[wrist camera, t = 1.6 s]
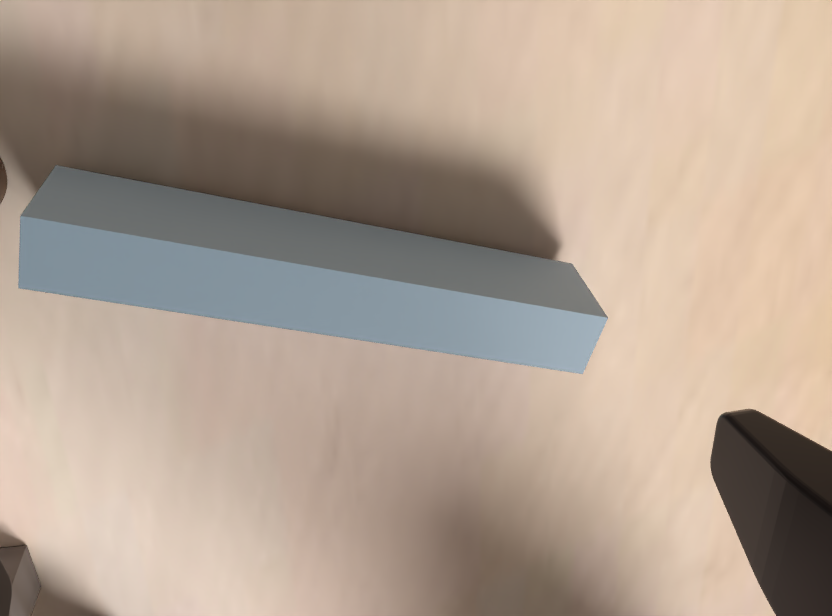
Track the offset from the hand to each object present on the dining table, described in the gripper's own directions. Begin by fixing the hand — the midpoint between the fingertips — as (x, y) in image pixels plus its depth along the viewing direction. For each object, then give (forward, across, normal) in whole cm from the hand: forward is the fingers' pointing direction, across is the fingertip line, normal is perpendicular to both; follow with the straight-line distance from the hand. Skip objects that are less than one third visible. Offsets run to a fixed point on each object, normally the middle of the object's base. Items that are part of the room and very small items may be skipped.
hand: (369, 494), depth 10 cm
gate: (+12, 0, +3) cm, 13 cm away
